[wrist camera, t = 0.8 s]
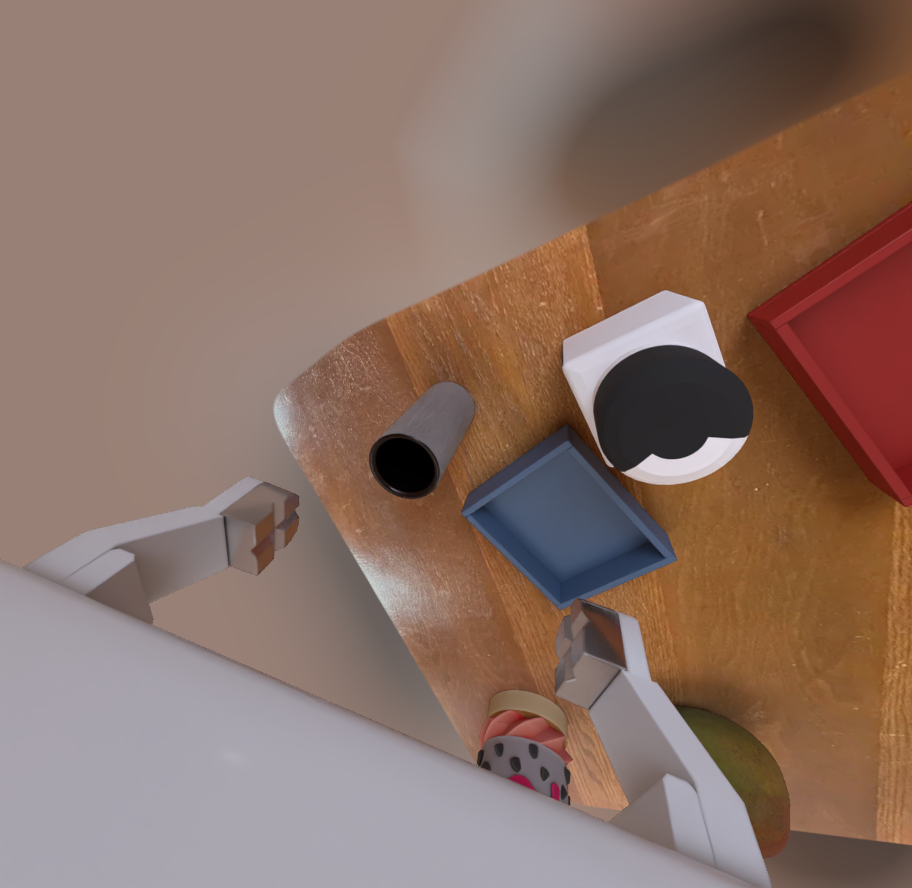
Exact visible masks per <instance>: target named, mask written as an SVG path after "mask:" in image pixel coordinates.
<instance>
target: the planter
mask: <svg viewBox="0 0 912 888" xmlns="http://www.w3.org/2000/svg"><path fill="white" fill-rule="evenodd" d="M474 413H475V406H474V402H473V399H472V397H471V395H470V394H469V393H468V391H467V390H466V389H464V388H463V387H462V386H460V385H458V384H456V383H453V382H440V383H437V384H435V385H433V386H432V387H430V388H429V389H428V390H427V391H426V392H425V393H424V394H423V395H422V396H421V397H420V398H419V399H418V400H417V401H416V402H415V403H414V404H413V405H412V406H411V407H410V408H409V409H408V410H407V411H406V412H405V413H404V414H403V415H402V416H401V417H400V418H399V419H398V420H397V421H396V422H395V423H394V424H393V425H392V426H391V427H390V428H389V429H387V430H386V431H385V432H384V433H383V434H382V435H381V436H380V437H379V438H378V440H377V441H376V442H375V443H374V444H373V446H372V448H371V450H370V455H369V463H370V468H371V471H372V474H373V476H374V477H375V479H376V480H377V482H378V483H379V484H380V485H381V486H382V487H383V488H384V489H385V490H387V491H388V492H390V493H392V494H393V495H396V496H398V497H401V498H406V499H417V498H422V497H424V496H427V495H428V494H430V493H431V492H432V491H433V490H434V489H435V488H436V487H437V485H438V483H439V481H440V480H441V478H442V476H443V474H444V472H445V470H446V468H447V467H448V465H449V463H450V461H451V459H452V457H453V455H454V454H455V452H456V450H457V448H458V446H459V444H460V443H461V441H462V439H463V437H464V435H465V433H466V431H467V430H468V428H469V426H470V424H471V422H472V420H473V417H474Z"/></svg>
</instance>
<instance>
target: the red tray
mask: <svg viewBox="0 0 912 888" xmlns="http://www.w3.org/2000/svg"><path fill="white" fill-rule="evenodd" d="M747 316H748V318H749V319H750V320H751V322H752V323H753V324H754V326H755V327H756V328H757V330H758V331H759V332H760V334H761V335H762V336H763V338H764V339H765V340H766V342H767V343H768V344H769V346H770V347H771V348H772V350H773V351H774V352H775V354H776V355H777V356H778V358H779V359H780V361H781V362H782V363H783V365H784V366H785V367H786V369H787V370H788V371H789V373H790V374H791V375H792V377H793V378H794V379H795V381H796V382H797V383H798V385H799V386H800V387H801V389H802V390H803V391H804V393H805V394H806V395H807V397H808V398H809V399H810V401H811V402H812V404H813V405H814V406H815V408H816V409H817V410H818V412H819V413H820V414H821V416H822V417H823V418H824V420H825V421H826V422H827V424H828V425H829V426H830V428H831V429H832V430H833V432H834V433H835V434H836V436H837V437H838V438H839V440H840V441H841V442H842V444H843V445H844V447H845V448H846V449H847V451H848V452H849V453H850V455H851V456H852V457H853V459H854V460H855V461H856V463H857V464H858V465H859V467H860V468H861V469H862V471H863V472H864V473H865V475H866V476H867V477H868V479H869V480H870V481H871V483H873V484H874V485H876V486H877V487H878V488H880V489H881V490H883V491H884V492H885V493H887V494H888V495H889V496H891V497H892V498H894V499H895V500H896V501H898V502H899V503H900V504H902V505H903V506H905V507H908V506H911V505H912V201H911V202H910V203H909V204H907V205H906V206H904V207H903V208H901V209H900V210H898V211H897V212H895V213H894V214H893V215H891V216H890V217H888V218H887V219H885V220H884V221H882V222H881V223H879V224H878V225H877V226H875V227H874V228H872V229H871V230H869V231H868V232H866V233H865V234H864V235H862V236H861V237H859V238H858V239H856V240H855V241H853V242H852V243H850V244H849V245H848V246H846V247H845V248H843V249H842V250H840V251H839V252H837V253H836V254H834V255H833V256H832V257H830V258H829V259H827V260H826V261H824V262H823V263H821V264H820V265H818V266H817V267H816V268H814V269H813V270H811V271H810V272H808V273H807V274H805V275H804V276H802V277H801V278H800V279H798V280H797V281H795V282H794V283H792V284H791V285H789V286H788V287H787V288H785V289H784V290H782V291H781V292H779V293H778V294H776V295H775V296H773V297H772V298H771V299H769V300H768V301H766V302H765V303H763V304H762V305H760V306H759V307H757V308H756V309H755V310H753V311H752V312H750V313H749V314H747Z"/></svg>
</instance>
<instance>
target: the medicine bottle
mask: <svg viewBox="0 0 912 888" xmlns="http://www.w3.org/2000/svg"><path fill="white" fill-rule="evenodd" d="M562 370H563V373H564V375H565V377H566V379H567V381H568V383H569V385H570V388H571V390H572V392H573V394H574V396H575V398H576V400H577V403H578V405H579V407H580V409H581V411H582V413H583V415H584V417H585V420H586V422H587V424H588V426H589V428H590V430H591V432H592V435H593V437H594V439H595V441H596V443H597V445H598V447H599V450H600V452H601V454H602V456H603V458H604V460H605V462H606V464H607V465H608V466H609V467H615V468H616V469H618V470H619V471H620V472H622V473H623V474H625V475H627V476H628V477H631V478H633V479H635V480H638V481H642V482H645V483H650V484H659V485H672V484H680V483H686V482H690V481H694V480H697V479H699V478H702V477H705V476H707V475H709V474H711V473H713V472H715V471H716V470H718V469H719V468H721V467H722V466H724V465H725V464H726V463H727V462H729V461H730V460H731V459H732V458H733V457H734V456H735V455H736V454H737V453H738V451H739V450H740V449H741V447H742V446H743V444H744V443H745V441H746V439H747V437H748V435H749V432H750V429H751V426H752V421H753V405H752V400H751V397H750V395H749V392H748V390H747V388H746V387H745V385H744V384H743V382H742V381H741V380H740V379H739V378H738V377H737V376H736V375H735V374H734V373H733V372H731V371H730V370H728V369H727V368H726V367H725V364H724V361H723V358H722V355H721V352H720V349H719V346H718V343H717V340H716V337H715V334H714V331H713V328H712V325H711V322H710V319H709V316H708V313H707V310H706V307H705V304H704V303H703V302H701V301H698V300H695V299H692V298H689V297H685V296H682V295H679V294H676V293H673V292H670V291H666V290H665V291H662V292H660V293H658V294H656V295H654V296H652V297H650V298H648V299H646V300H644V301H642V302H640V303H638V304H636V305H634V306H632V307H630V308H627V309H625V310H623V311H621V312H619V313H617V314H615V315H613V316H611V317H609V318H607V319H605V320H603V321H601V322H599V323H597V324H595V325H593V326H591V327H589V328H587V329H585V330H583V331H581V332H579V333H577V334H575V335H573V336H571V337H569V338H567V339H565V340H564V341H563V342H562Z"/></svg>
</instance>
